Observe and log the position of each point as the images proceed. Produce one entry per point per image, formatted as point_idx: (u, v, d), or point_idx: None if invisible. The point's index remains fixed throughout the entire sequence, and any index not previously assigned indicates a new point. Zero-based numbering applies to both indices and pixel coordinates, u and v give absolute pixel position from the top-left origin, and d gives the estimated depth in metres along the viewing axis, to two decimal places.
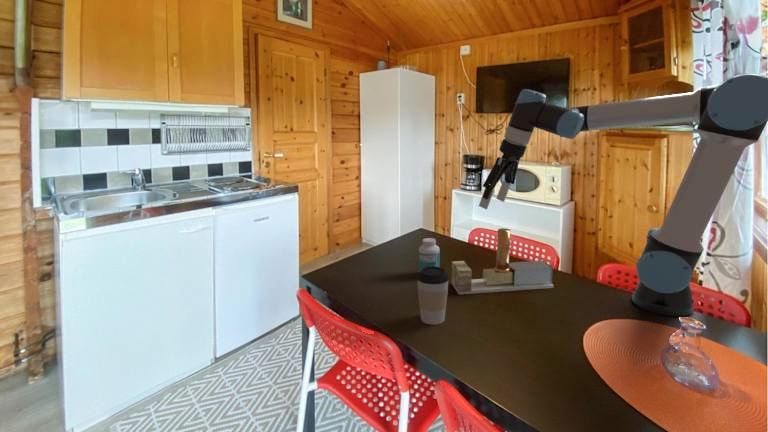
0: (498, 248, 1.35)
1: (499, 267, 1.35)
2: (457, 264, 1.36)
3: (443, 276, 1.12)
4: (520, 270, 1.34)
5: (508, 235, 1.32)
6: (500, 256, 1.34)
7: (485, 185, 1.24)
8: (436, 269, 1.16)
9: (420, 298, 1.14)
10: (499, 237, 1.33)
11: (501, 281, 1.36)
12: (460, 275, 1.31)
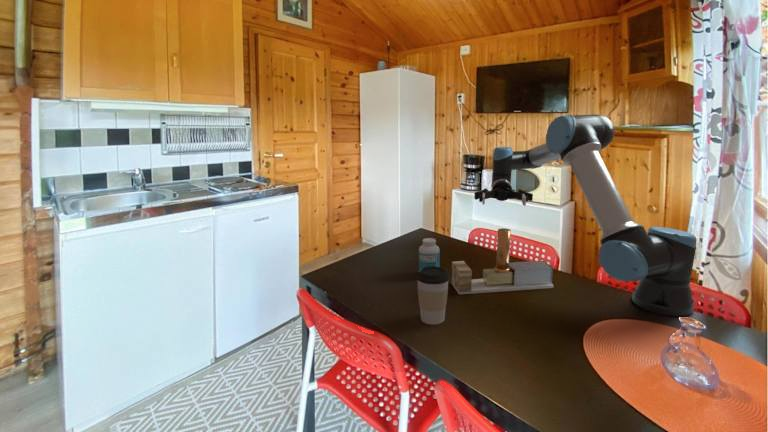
0: (498, 248, 1.35)
1: (499, 267, 1.35)
2: (457, 264, 1.36)
3: (443, 276, 1.12)
4: (520, 270, 1.34)
5: (508, 235, 1.32)
6: (500, 256, 1.34)
7: (474, 197, 1.51)
8: (436, 269, 1.16)
9: (420, 298, 1.14)
10: (499, 237, 1.33)
11: (501, 281, 1.36)
12: (460, 275, 1.31)
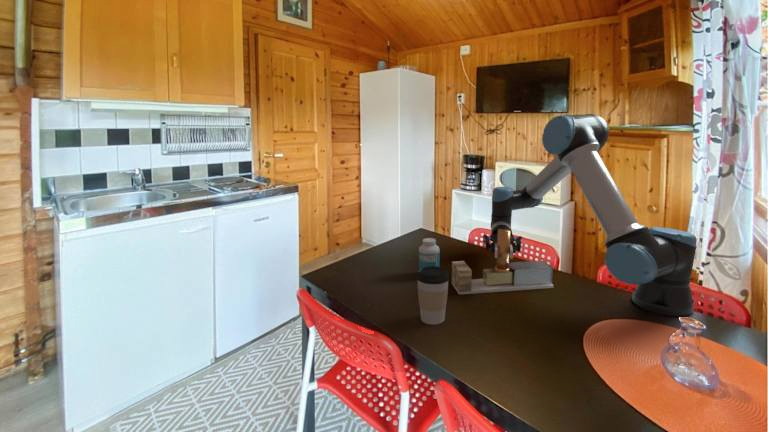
0: (498, 248, 1.35)
1: (499, 267, 1.35)
2: (457, 264, 1.36)
3: (443, 276, 1.12)
4: (520, 270, 1.34)
5: (508, 235, 1.32)
6: (500, 256, 1.34)
7: (485, 247, 1.39)
8: (436, 269, 1.16)
9: (420, 298, 1.14)
10: (499, 237, 1.33)
11: (501, 281, 1.36)
12: (460, 275, 1.31)
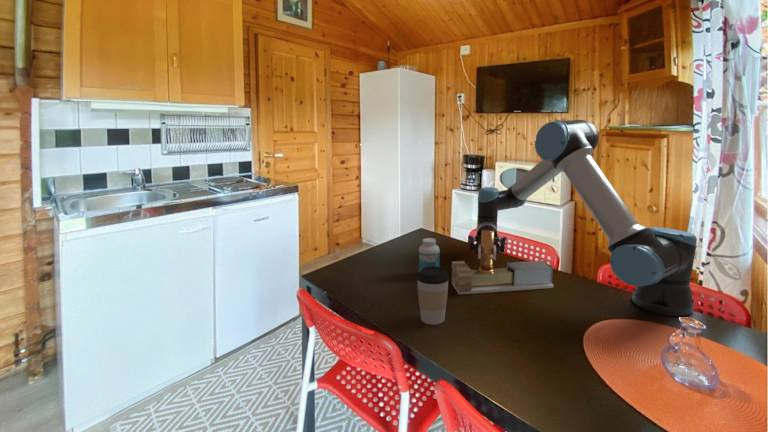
0: (482, 249, 1.34)
1: (483, 268, 1.35)
2: (457, 264, 1.36)
3: (443, 276, 1.12)
4: (520, 270, 1.34)
5: (491, 236, 1.32)
6: (483, 257, 1.34)
7: None
8: (436, 269, 1.16)
9: (420, 298, 1.14)
10: (483, 238, 1.33)
11: (484, 282, 1.35)
12: (460, 275, 1.31)
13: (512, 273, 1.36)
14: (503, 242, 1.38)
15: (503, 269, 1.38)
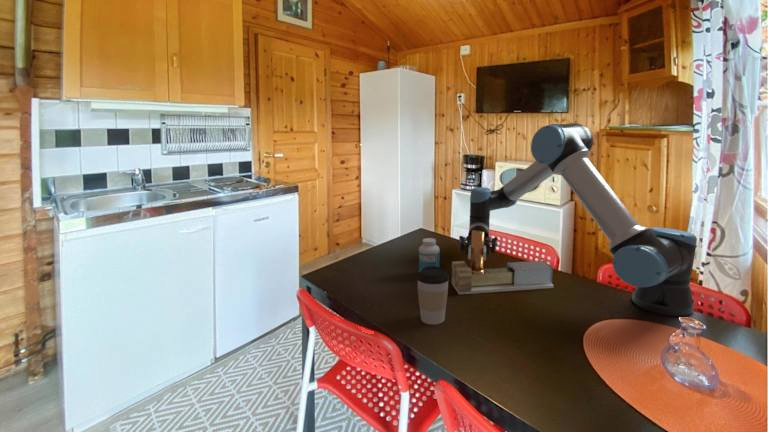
0: (472, 250, 1.34)
1: (473, 268, 1.34)
2: (457, 264, 1.36)
3: (443, 276, 1.12)
4: (520, 270, 1.34)
5: (482, 236, 1.32)
6: (474, 258, 1.34)
7: None
8: (436, 269, 1.16)
9: (420, 298, 1.14)
10: (473, 238, 1.33)
11: (475, 283, 1.35)
12: (460, 275, 1.31)
13: (502, 274, 1.35)
14: (494, 243, 1.38)
15: (494, 269, 1.38)
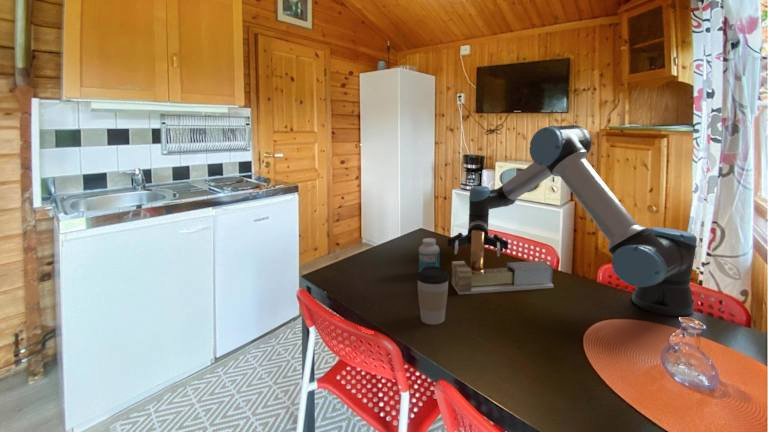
0: (472, 250, 1.34)
1: (473, 268, 1.34)
2: (457, 264, 1.36)
3: (443, 276, 1.12)
4: (520, 270, 1.34)
5: (481, 236, 1.32)
6: (473, 258, 1.34)
7: None
8: (436, 269, 1.16)
9: (420, 298, 1.14)
10: (473, 238, 1.33)
11: (475, 283, 1.35)
12: (460, 275, 1.31)
13: (502, 274, 1.35)
14: (502, 239, 1.41)
15: (494, 269, 1.38)
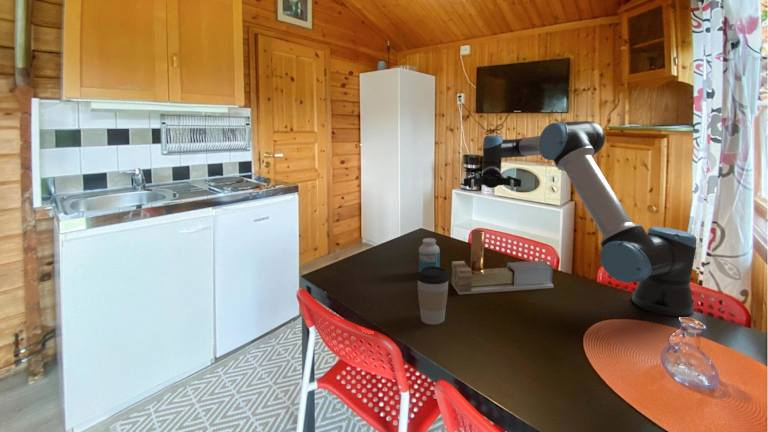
0: (472, 250, 1.34)
1: (473, 268, 1.34)
2: (457, 264, 1.36)
3: (443, 276, 1.12)
4: (520, 270, 1.34)
5: (481, 236, 1.32)
6: (473, 258, 1.34)
7: None
8: (436, 269, 1.16)
9: (420, 298, 1.14)
10: (473, 238, 1.33)
11: (475, 283, 1.35)
12: (460, 275, 1.31)
13: (502, 274, 1.35)
14: (515, 178, 1.50)
15: (494, 269, 1.38)
